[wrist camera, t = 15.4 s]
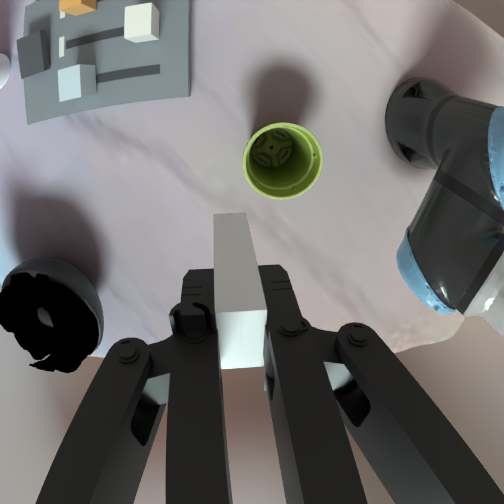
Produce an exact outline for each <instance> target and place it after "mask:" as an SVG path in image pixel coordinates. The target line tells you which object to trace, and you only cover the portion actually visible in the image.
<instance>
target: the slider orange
mask: <svg viewBox="0 0 504 504" xmlns="http://www.w3.org/2000/svg"><path fill="white" fill-rule="evenodd" d="M96 2H97V0H60V1H59V11H62V12H65V13H68V14H71V15H74V16H77V15H81V14H84V13H88V12H92V11H95V10H96Z"/></svg>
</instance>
